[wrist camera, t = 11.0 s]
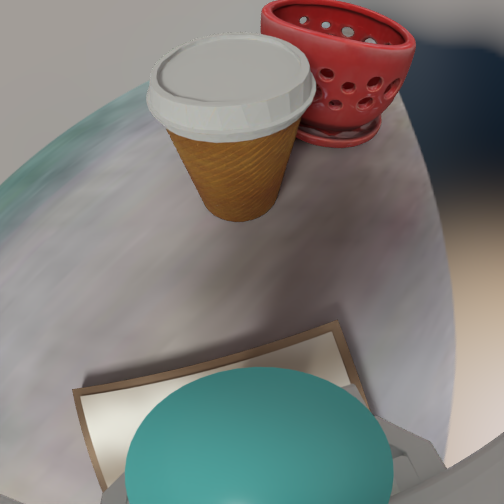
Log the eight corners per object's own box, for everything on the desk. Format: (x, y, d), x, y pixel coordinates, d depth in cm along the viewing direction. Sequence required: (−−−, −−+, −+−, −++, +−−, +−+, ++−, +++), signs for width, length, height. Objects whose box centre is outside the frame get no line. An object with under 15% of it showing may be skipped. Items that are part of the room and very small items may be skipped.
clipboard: (394, 511, 13) (407, 521, 11) (148, 567, 11) (139, 580, 9) (333, 323, 20) (342, 315, 18) (80, 389, 18) (62, 388, 16)
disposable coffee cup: (298, 244, 22) (328, 119, 12) (172, 238, 23) (114, 120, 12) (296, 150, 26) (311, 32, 15) (193, 147, 27) (168, 34, 16)
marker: (302, 431, 15) (411, 534, 3) (234, 451, 14) (178, 593, 2) (281, 369, 16) (351, 328, 4) (214, 388, 16) (95, 396, 4)
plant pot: (405, 149, 27) (448, 55, 16) (288, 173, 25) (303, 49, 14) (345, 78, 32) (361, -4, 21) (244, 90, 30) (240, -5, 20)
